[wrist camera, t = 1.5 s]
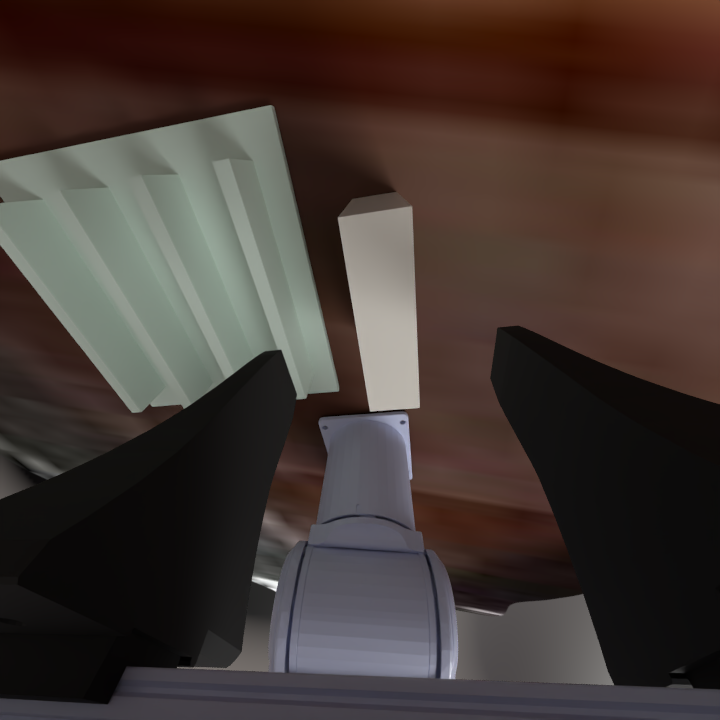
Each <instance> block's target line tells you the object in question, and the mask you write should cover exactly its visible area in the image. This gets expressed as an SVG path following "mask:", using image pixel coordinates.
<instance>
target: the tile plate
mask: <svg viewBox="0 0 720 720" xmlns="http://www.w3.org/2000/svg"><path fill="white" fill-rule="evenodd" d="M338 223H339V229H340V235H341V241H342V247H343V253H344V259H345V265H346V271H347V277H348V282H349V288H350V294H351V300H352V306H353V312H354V318H355V324H356V330H357V336H358V342H359V348H360V354H361V360H362V366H363V372H364V378H365V384H366V390H367V396H368V402H369V408H370V412H372V411H385V410H398V409H411V408H420V402H419V376H418V349H417V323H416V297H415V271H414V244H413V218H412V206H411V205H410V204H409V203H408V202H407V201H406V200H405V199H404V198H403V197H402V196H400V195H399V194H398V193H397V192H393V193H386V194H380V195H374V196H368V197H361V198H355V199H352V200H351V202H350V203H349V204H348V205H347V207H346V208H345V209H344V210H343V212H342V213H341V214H340V215H339V217H338Z"/></svg>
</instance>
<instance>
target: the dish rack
mask: <svg viewBox="0 0 720 720" xmlns="http://www.w3.org/2000/svg"><path fill="white" fill-rule="evenodd" d="M0 197H1V198H2V199H3V201H4V202H5V203H0V245H1V246H2V248H3V249H4V250H5V252H6V253H7V254H8V255H9V257H10V258H11V259H12V260H13V262H14V263H15V264H16V266H17V267H18V268H19V269H20V271H21V272H22V273H23V274H24V276H25V277H26V278H27V280H28V281H29V282H30V283H31V285H32V286H33V287H34V288H35V290H36V291H37V292H38V294H39V295H40V296H41V297H42V299H43V300H44V301H45V302H46V304H47V305H48V306H49V308H50V309H51V310H52V311H53V313H54V314H55V315H56V316H57V318H58V319H59V320H60V322H61V323H62V324H63V325H64V327H65V328H66V329H67V330H68V332H69V333H70V334H71V336H72V337H73V338H74V339H75V341H76V342H77V343H78V344H79V346H80V347H81V348H82V350H83V351H84V352H85V353H86V355H87V356H88V357H89V358H90V360H91V361H92V362H93V364H94V365H95V366H96V367H97V369H98V370H99V371H100V372H101V374H102V375H103V376H104V378H105V379H106V380H107V381H108V383H109V384H110V385H111V386H112V388H113V389H114V390H115V392H116V393H117V394H118V395H119V397H120V398H121V399H122V400H123V402H124V403H125V404H126V406H127V407H128V408H129V409H130V411H131V412H132V413H135V412H142V411H143V410H144V409H145V408H146V407H147V406H148V405H149V404H151V406H152V407H155V406H167V405H179V404H181V405H182V406H183V408H184V409H185V408H186V407H188V406H189V405H191V404H192V403H194V402H195V401H197V400H198V399H199V398H201V397H202V396H204V395H205V394H206V393H208V392H209V391H211V390H212V389H213V388H215V387H216V386H218V385H219V384H220V383H222V382H223V381H224V380H226V379H227V378H228V377H230V376H231V375H232V374H234V373H235V372H236V371H238V370H239V369H240V368H241V367H243V366H244V365H245V364H247V363H248V362H249V361H251V360H252V359H254V358H255V357H256V356H258V355H259V354H261V353H263V352H264V351H272V350H282V353H283V356H284V359H285V361H286V364H287V367H288V370H289V373H290V376H291V378H292V381H293V384H294V387H295V390H296V393H297V397H296V399H306V398H307V394H312V393H325V392H337V391H339V384H338V379H337V375H336V371H335V366H334V362H333V358H332V354H331V349H330V345H329V341H328V336H327V332H326V328H325V323H324V319H323V315H322V310H321V306H320V302H319V298H318V293H317V289H316V285H315V280H314V276H313V272H312V267H311V263H310V259H309V254H308V250H307V246H306V242H305V237H304V233H303V229H302V224H301V220H300V216H299V211H298V207H297V203H296V198H295V194H294V190H293V186H292V181H291V177H290V173H289V168H288V164H287V160H286V155H285V151H284V147H283V142H282V138H281V134H280V130H279V125H278V121H277V117H276V112H275V108H274V106H272V105H269V106H264V107H259V108H254V109H249V110H244V111H240V112H235V113H230V114H225V115H220V116H215V117H210V118H206V119H201V120H196V121H191V122H186V123H181V124H177V125H172V126H167V127H162V128H157V129H152V130H147V131H143V132H138V133H133V134H128V135H123V136H118V137H113V138H109V139H104V140H99V141H94V142H89V143H84V144H80V145H75V146H70V147H65V148H60V149H55V150H50V151H46V152H41V153H36V154H31V155H26V156H21V157H16V158H12V159H7V160H2V161H0Z"/></svg>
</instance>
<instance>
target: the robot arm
mask: <svg viewBox="0 0 720 720" xmlns="http://www.w3.org/2000/svg"><path fill="white" fill-rule="evenodd" d="M490 379H491V381H492V384H493V387H494V390H495V393H496V396H497V398H498V401H499V403H500V406H501V407H502V409H503V411H504V413H505V415H506V417H507V419H508V421H509V423H510V424H511V426H512V428H513V430H514V432H515V434H516V435H517V437H518V439H519V441H520V443H521V445H522V446H523V448H524V450H525V452H526V454H527V456H528V457H529V459H530V461H531V463H532V465H533V467H534V469H535V471H536V473H537V475H538V477H539V479H540V482H541V484H542V487H543V489H544V491H545V494H546V496H547V499H548V501H549V503H550V506H551V508H552V511H553V513H554V516H555V518H556V521H557V524H558V526H559V529H560V531H561V534H562V537H563V539H564V542H565V544H566V547H567V550H568V552H569V555H570V558H571V561H572V564H573V566H574V569H575V572H576V575H577V578H578V580H579V583H580V586H581V589H582V592H583V594H584V598H585V600H586V604H587V607H588V610H589V613H590V616H591V619H592V622H593V625H594V628H595V631H596V634H597V637H598V640H599V643H600V647H601V650H602V653H603V656H604V660H605V663H606V666H607V669H608V672H609V674H610V676H611V679H612V681H613V683H614V685H590V684H589V685H588V684H563V683H539V682H511V681H486V680H462V679H455V672H456V668H457V662H458V632H457V620H456V611H455V604H454V598H453V593H452V588H451V584H450V580H449V577H448V574H447V571H446V568H445V566H444V565H443V563H442V562H441V561H440V559H439V558H438V556H437V555H436V553H435V552H434V551H433V550H431V549H424V545H423V538H422V533H421V532H418V531H415V524H414V515H413V506H412V497H411V488H410V480H411V479H412V466H411V452H410V437H409V423H408V414H407V413H406V412H403V411H400V412H386V413H373V414H359V415H345V416H331V417H321V418H320V419H319V422H318V423H319V427H320V430H321V433H322V437H323V440H324V443H325V446H326V450H327V453H328V458H327V464H326V470H325V475H324V481H323V487H322V493H321V499H320V505H319V511H318V517H317V523H316V525H311V529H310V535H309V540H308V541H299V542H298V543H297V544H296V545H295V547H294V548H293V549H292V550H290V552H289V553H288V555H287V557H286V559H285V562H284V565H283V568H282V571H281V575H280V578H279V582H278V586H277V591H276V596H275V601H274V607H273V612H272V619H271V626H270V634H269V672H255V671H230V670H204V669H179V668H177V667H217V668H219V667H220V668H227V667H228V666H230V665H231V664H232V663H233V662H234V661H235V660H236V658H237V657H238V656H239V654H240V653H241V651H242V644H243V635H244V628H245V620H246V613H247V606H248V600H249V592H250V586H251V581H252V575H253V569H254V563H255V557H256V551H257V546H258V541H259V536H260V531H261V526H262V521H263V516H264V512H265V507H266V503H267V499H268V494H269V490H270V486H271V483H272V479H273V476H274V473H275V470H276V467H277V464H278V461H279V458H280V455H281V452H282V449H283V446H284V443H285V441H286V438H287V435H288V431H289V428H290V425H291V422H292V419H293V414H294V409H295V403H296V397H297V393H296V390H295V387H294V384H293V381H292V378H291V376H290V373H289V370H288V367H287V364H286V361H285V359H284V356H283V353H282V350H272V351H264V352H263V353H261V354H259V355H258V356H256V357H255V358H254V359H252V360H251V361H249V362H248V363H247V364H245V365H244V366H243V367H241V368H240V369H239V370H238V371H236V372H235V373H234V374H232V375H231V376H230V377H228V378H227V379H226V380H224V381H223V382H222V383H220V384H219V385H218V386H216V387H215V388H213V389H212V390H211V391H209V392H208V393H206V394H205V395H204V396H202V397H201V398H199V399H198V400H197V401H195V402H194V403H192V404H191V405H189V406H188V407H186V408H185V409H183V410H182V411H180V412H179V413H177V414H176V415H174V416H172V417H171V418H169V419H167V420H166V421H164V422H162V423H161V424H159V425H157V426H156V427H154V428H152V429H150V430H149V431H147V432H145V433H143V434H141V435H139V436H137V437H136V438H134V439H132V440H130V441H128V442H126V443H124V444H122V445H121V446H119V447H117V448H115V449H113V450H111V451H109V452H107V453H105V454H103V455H101V456H99V457H97V458H95V459H93V460H91V461H88V462H86V463H84V464H82V465H80V466H78V467H76V468H73V469H71V470H69V471H67V472H65V473H62V474H60V475H58V476H56V477H53V478H51V479H49V480H46V481H44V482H42V483H40V484H37V485H35V486H32V487H30V488H27V489H25V490H22V491H20V492H18V493H15V494H13V495H10V496H7V497H5V498H3V499H1V500H0V720H720V404H716V403H713V402H709V401H706V400H703V399H699V398H696V397H693V396H690V395H687V394H683V393H680V392H677V391H675V390H672V389H669V388H666V387H663V386H660V385H657V384H654V383H651V382H648V381H646V380H643V379H640V378H637V377H635V376H632V375H629V374H627V373H624V372H622V371H620V370H617V369H615V368H612V367H610V366H607V365H605V364H602V363H600V362H598V361H595V360H593V359H591V358H589V357H586V356H584V355H582V354H580V353H577V352H575V351H573V350H571V349H569V348H567V347H565V346H562V345H560V344H558V343H556V342H554V341H552V340H550V339H548V338H546V337H543V336H541V335H539V334H537V333H535V332H533V331H530V330H528V329H526V328H523V327H520V326H510V327H500V328H497V335H496V343H495V350H494V357H493V364H492V371H491V378H490ZM402 420H404V421H402ZM325 426H327V427H325Z"/></svg>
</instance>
